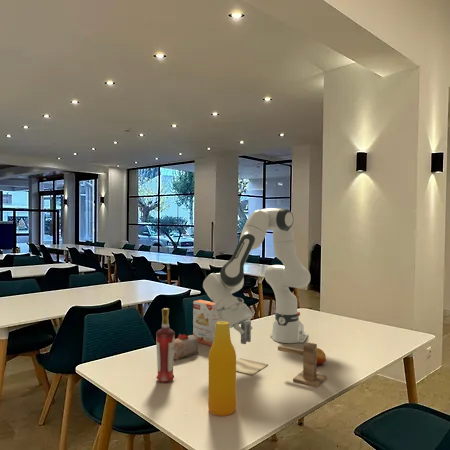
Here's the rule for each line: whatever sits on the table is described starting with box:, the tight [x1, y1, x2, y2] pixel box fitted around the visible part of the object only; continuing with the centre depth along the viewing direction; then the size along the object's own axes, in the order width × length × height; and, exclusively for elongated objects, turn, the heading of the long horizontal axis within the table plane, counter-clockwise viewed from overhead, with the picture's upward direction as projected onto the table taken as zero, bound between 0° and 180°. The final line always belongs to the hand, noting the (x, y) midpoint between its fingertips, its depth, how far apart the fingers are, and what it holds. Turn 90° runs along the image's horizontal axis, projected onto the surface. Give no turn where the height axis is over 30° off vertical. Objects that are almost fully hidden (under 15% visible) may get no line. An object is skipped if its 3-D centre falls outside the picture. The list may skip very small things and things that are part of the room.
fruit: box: [317, 347, 327, 367], centre depth 176 cm, size 8×8×8 cm
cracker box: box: [192, 299, 220, 347], centre depth 206 cm, size 14×6×21 cm, turn 47°
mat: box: [236, 357, 269, 376], centre depth 172 cm, size 14×14×1 cm
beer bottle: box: [207, 321, 237, 417], centre depth 133 cm, size 9×9×29 cm
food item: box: [174, 333, 199, 360], centre depth 186 cm, size 14×8×10 cm, turn 133°
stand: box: [277, 341, 327, 388], centre depth 161 cm, size 10×19×14 cm, turn 57°
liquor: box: [155, 307, 176, 384], centre depth 157 cm, size 7×7×28 cm
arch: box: [240, 319, 252, 345], centre depth 172 cm, size 5×2×9 cm, turn 147°
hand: (247, 331), depth 171 cm, fingers closed on arch, 5 cm apart
